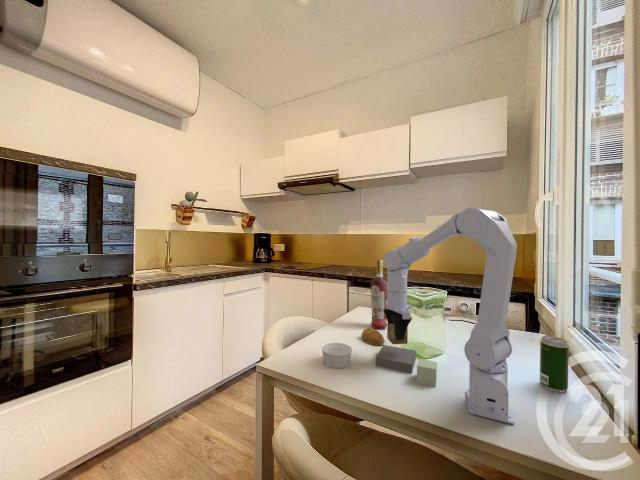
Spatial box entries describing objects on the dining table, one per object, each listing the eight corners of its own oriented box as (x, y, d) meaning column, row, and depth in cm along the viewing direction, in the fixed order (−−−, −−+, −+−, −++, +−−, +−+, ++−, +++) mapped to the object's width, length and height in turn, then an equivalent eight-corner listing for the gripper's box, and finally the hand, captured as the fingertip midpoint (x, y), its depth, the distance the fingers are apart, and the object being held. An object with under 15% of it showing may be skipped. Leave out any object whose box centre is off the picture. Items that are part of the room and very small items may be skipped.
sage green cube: (435, 387, 67) (436, 369, 67) (416, 383, 69) (417, 365, 69) (436, 378, 71) (436, 362, 71) (418, 375, 73) (418, 358, 73)
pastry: (389, 345, 94) (389, 334, 94) (372, 348, 91) (372, 337, 91) (374, 336, 102) (374, 326, 102) (359, 338, 100) (359, 328, 100)
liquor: (391, 327, 112) (392, 260, 112) (382, 331, 107) (382, 261, 106) (376, 323, 117) (376, 259, 117) (366, 327, 112) (367, 260, 111)
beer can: (556, 394, 64) (557, 344, 64) (534, 382, 70) (535, 336, 70) (573, 391, 66) (574, 342, 65) (550, 380, 71) (551, 334, 71)
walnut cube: (407, 343, 78) (407, 328, 78) (392, 344, 78) (392, 328, 78) (401, 338, 83) (401, 323, 83) (387, 338, 82) (387, 323, 82)
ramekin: (357, 362, 80) (357, 348, 80) (338, 373, 74) (339, 357, 74) (334, 353, 86) (335, 340, 86) (315, 362, 80) (315, 348, 80)
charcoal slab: (411, 375, 74) (411, 364, 74) (375, 367, 78) (375, 357, 78) (415, 360, 83) (415, 350, 83) (383, 354, 87) (383, 344, 87)
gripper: (421, 296, 73) (420, 345, 74) (400, 286, 88) (399, 327, 88) (396, 296, 73) (395, 346, 73) (379, 286, 87) (378, 328, 87)
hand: (396, 336), depth 80 cm, fingers closed on walnut cube, 4 cm apart
